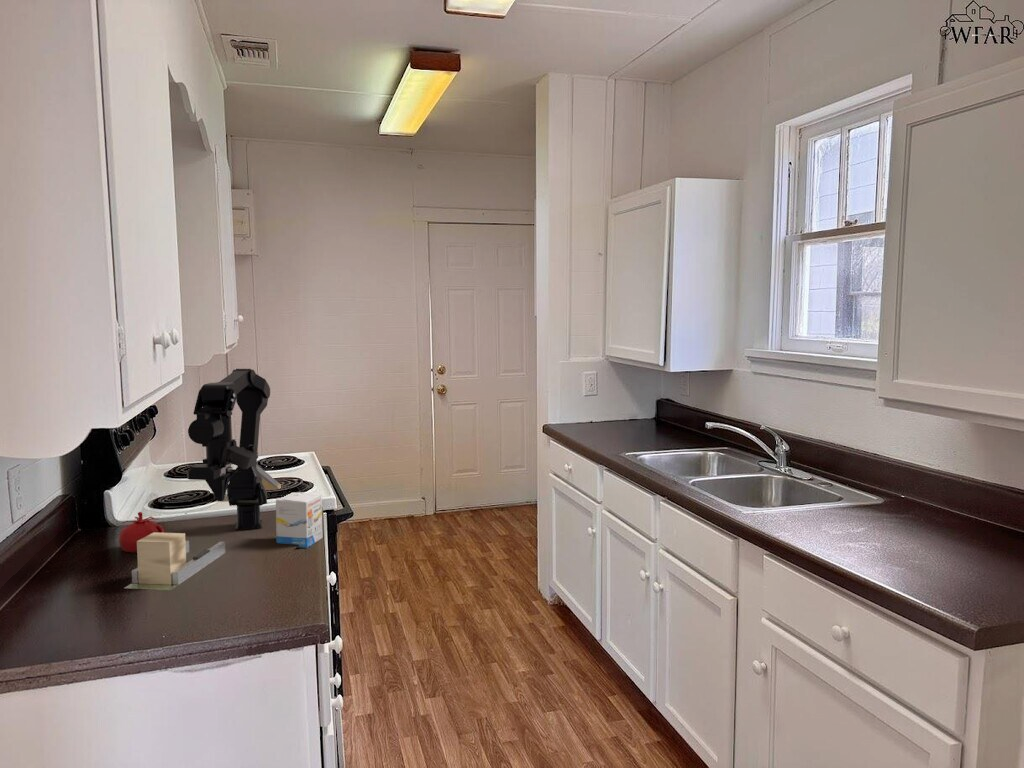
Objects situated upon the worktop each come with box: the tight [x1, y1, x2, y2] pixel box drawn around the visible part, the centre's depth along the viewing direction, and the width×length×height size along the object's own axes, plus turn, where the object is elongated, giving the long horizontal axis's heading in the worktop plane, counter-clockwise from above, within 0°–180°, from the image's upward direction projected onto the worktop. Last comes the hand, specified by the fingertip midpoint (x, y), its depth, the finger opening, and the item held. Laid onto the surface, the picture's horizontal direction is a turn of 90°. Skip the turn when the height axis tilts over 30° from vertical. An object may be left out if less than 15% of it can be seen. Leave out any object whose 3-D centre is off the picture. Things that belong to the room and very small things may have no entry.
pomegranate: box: [118, 511, 165, 554], centre depth 167 cm, size 10×10×9 cm
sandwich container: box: [236, 464, 282, 490], centre depth 219 cm, size 9×15×15 cm, turn 110°
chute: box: [124, 539, 226, 591], centre depth 154 cm, size 26×14×4 cm, turn 176°
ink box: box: [275, 491, 323, 549], centre depth 174 cm, size 9×8×12 cm
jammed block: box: [136, 532, 187, 585], centre depth 147 cm, size 6×7×9 cm
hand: (220, 500), depth 167 cm, fingers closed
